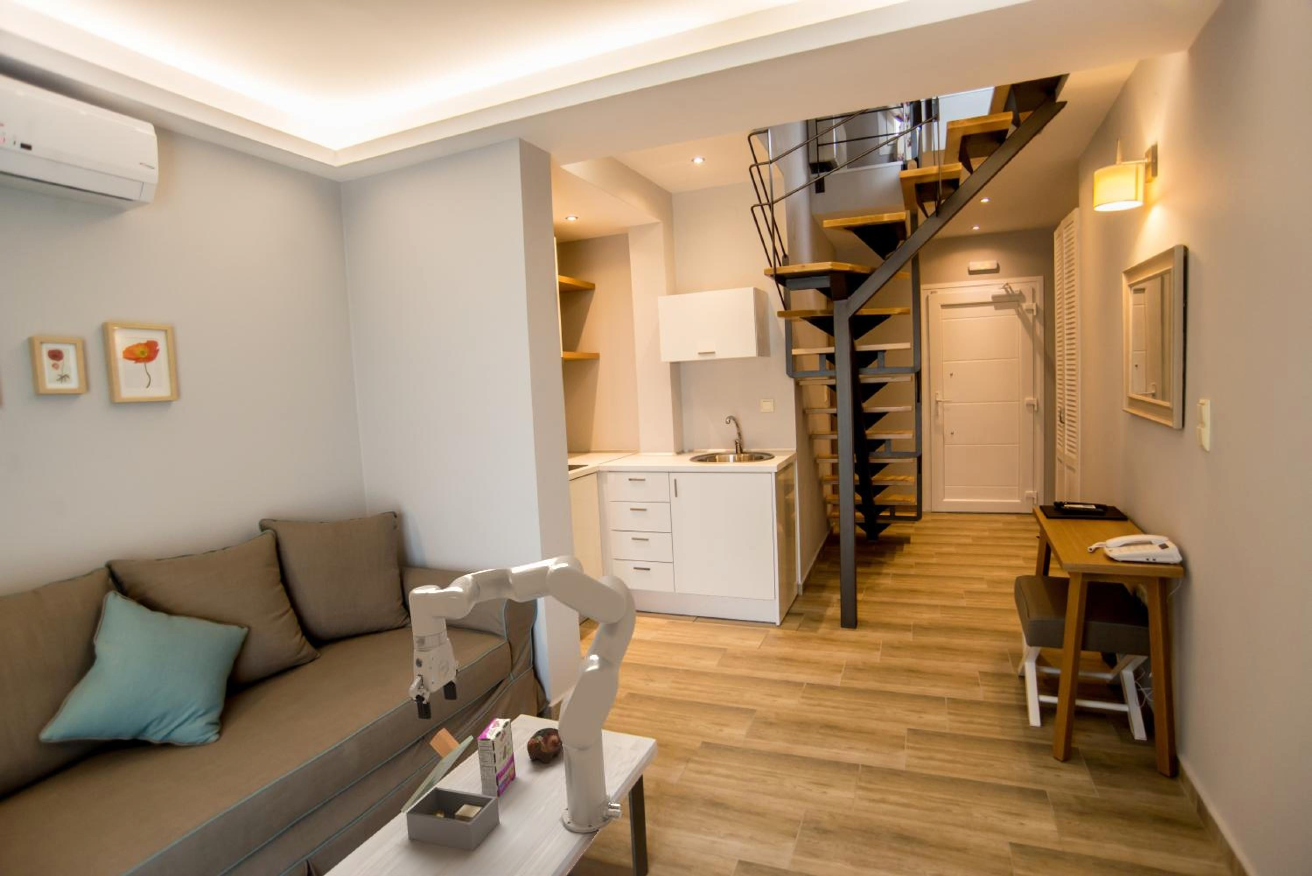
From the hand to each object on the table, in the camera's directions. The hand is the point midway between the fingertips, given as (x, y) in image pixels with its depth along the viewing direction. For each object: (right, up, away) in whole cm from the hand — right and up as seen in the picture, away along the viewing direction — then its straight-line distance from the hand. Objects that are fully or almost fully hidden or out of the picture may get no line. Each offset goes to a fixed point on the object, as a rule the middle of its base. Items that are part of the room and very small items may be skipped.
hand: (438, 708), depth 164 cm
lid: (0, -17, +1) cm, 17 cm away
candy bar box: (+10, -29, +20) cm, 36 cm away
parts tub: (+4, -30, +1) cm, 31 cm away
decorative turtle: (+20, -27, +34) cm, 48 cm away
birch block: (+7, -29, +2) cm, 30 cm away
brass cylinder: (-1, -30, +1) cm, 30 cm away
